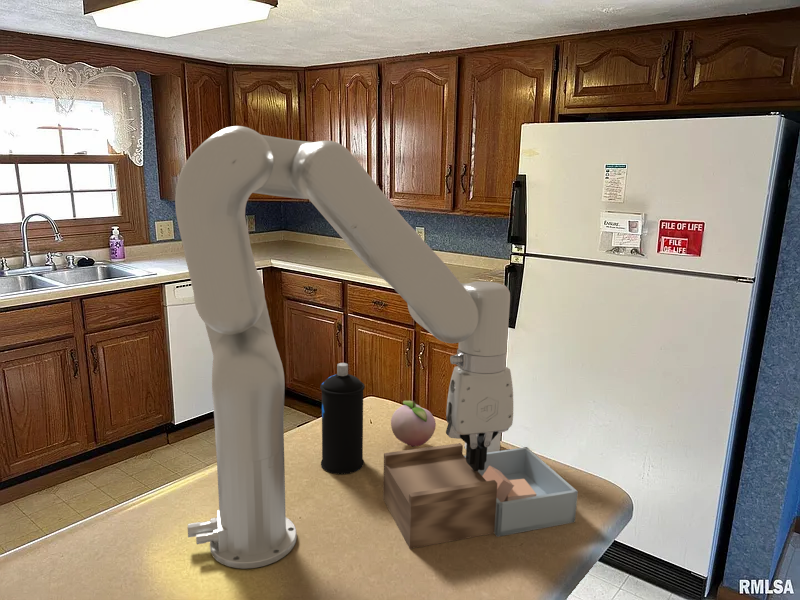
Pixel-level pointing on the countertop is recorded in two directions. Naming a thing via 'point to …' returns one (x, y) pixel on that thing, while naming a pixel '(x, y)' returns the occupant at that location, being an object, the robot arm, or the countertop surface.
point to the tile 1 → (499, 482)
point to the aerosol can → (342, 422)
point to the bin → (534, 512)
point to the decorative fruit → (412, 424)
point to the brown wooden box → (437, 495)
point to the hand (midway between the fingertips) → (475, 466)
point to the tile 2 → (520, 490)
